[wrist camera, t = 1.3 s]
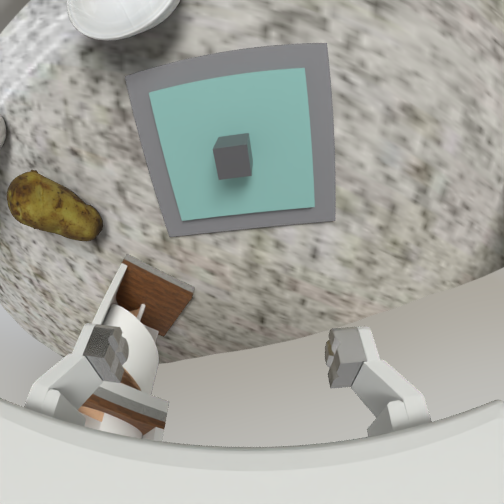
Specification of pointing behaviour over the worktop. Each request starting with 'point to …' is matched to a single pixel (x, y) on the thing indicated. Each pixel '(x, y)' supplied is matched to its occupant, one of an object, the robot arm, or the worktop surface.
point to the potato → (52, 208)
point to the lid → (237, 143)
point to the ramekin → (117, 16)
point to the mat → (231, 64)
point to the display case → (136, 349)
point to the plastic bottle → (2, 131)
